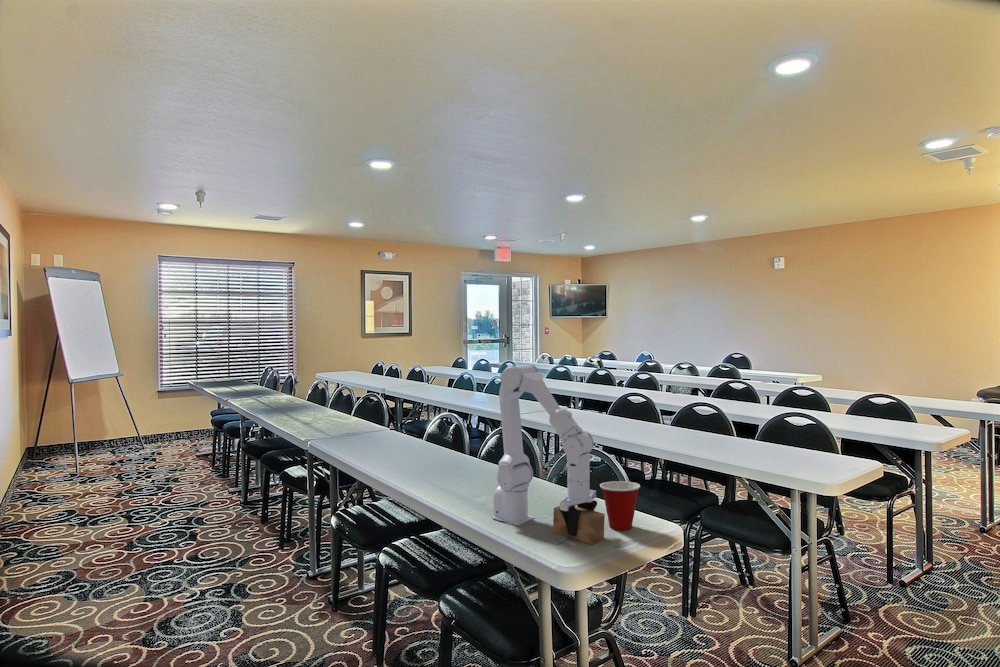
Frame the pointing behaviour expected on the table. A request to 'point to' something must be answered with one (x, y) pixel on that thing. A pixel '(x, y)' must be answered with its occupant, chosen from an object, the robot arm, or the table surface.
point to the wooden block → (582, 525)
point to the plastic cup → (620, 503)
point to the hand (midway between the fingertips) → (578, 531)
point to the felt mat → (542, 534)
